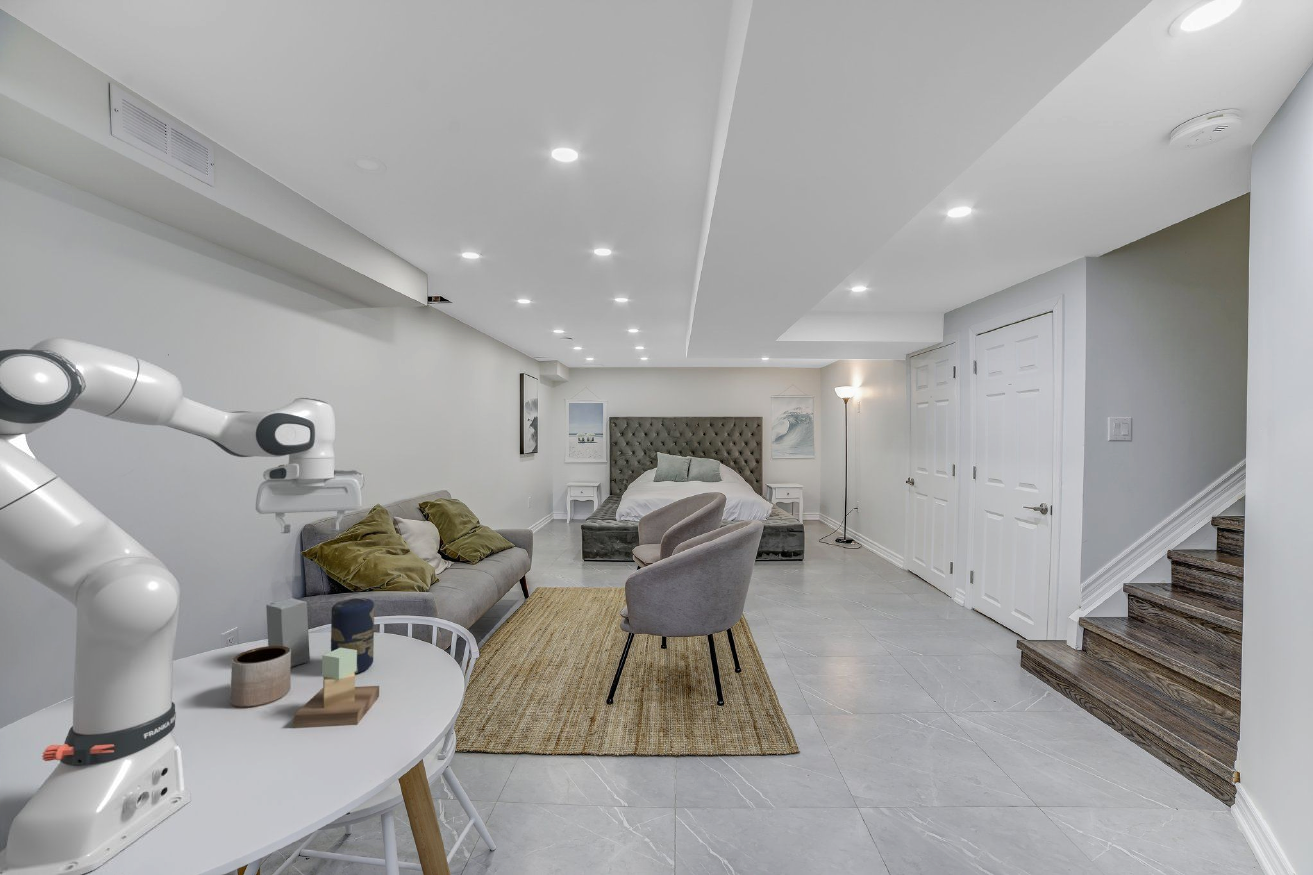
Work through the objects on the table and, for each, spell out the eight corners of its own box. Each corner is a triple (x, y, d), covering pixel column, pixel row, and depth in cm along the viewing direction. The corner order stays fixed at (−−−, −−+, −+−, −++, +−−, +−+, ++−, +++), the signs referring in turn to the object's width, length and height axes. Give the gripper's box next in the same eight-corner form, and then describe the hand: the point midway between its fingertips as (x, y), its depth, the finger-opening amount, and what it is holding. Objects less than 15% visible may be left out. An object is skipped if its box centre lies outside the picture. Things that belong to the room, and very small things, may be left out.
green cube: (338, 679, 112) (339, 657, 112) (321, 676, 113) (322, 655, 113) (356, 671, 116) (356, 650, 116) (340, 668, 117) (340, 647, 117)
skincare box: (310, 662, 140) (311, 601, 140) (279, 671, 134) (280, 608, 134) (294, 655, 144) (295, 595, 144) (264, 664, 138) (265, 602, 138)
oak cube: (354, 701, 114) (355, 675, 114) (324, 708, 111) (324, 681, 111) (352, 691, 118) (352, 666, 118) (323, 697, 115) (323, 672, 115)
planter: (301, 687, 125) (302, 646, 126) (263, 710, 115) (264, 665, 115) (259, 684, 127) (260, 643, 127) (216, 707, 116) (217, 662, 116)
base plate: (357, 724, 109) (357, 712, 109) (293, 727, 108) (293, 715, 108) (379, 696, 121) (379, 685, 121) (321, 699, 120) (322, 688, 120)
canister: (370, 674, 133) (372, 601, 133) (326, 680, 129) (328, 605, 129) (375, 659, 142) (376, 591, 142) (334, 664, 138) (335, 594, 138)
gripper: (364, 469, 129) (363, 527, 129) (260, 470, 120) (259, 532, 120) (363, 470, 123) (362, 531, 123) (254, 471, 114) (253, 536, 114)
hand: (310, 531), depth 121 cm, fingers open, 8 cm apart
